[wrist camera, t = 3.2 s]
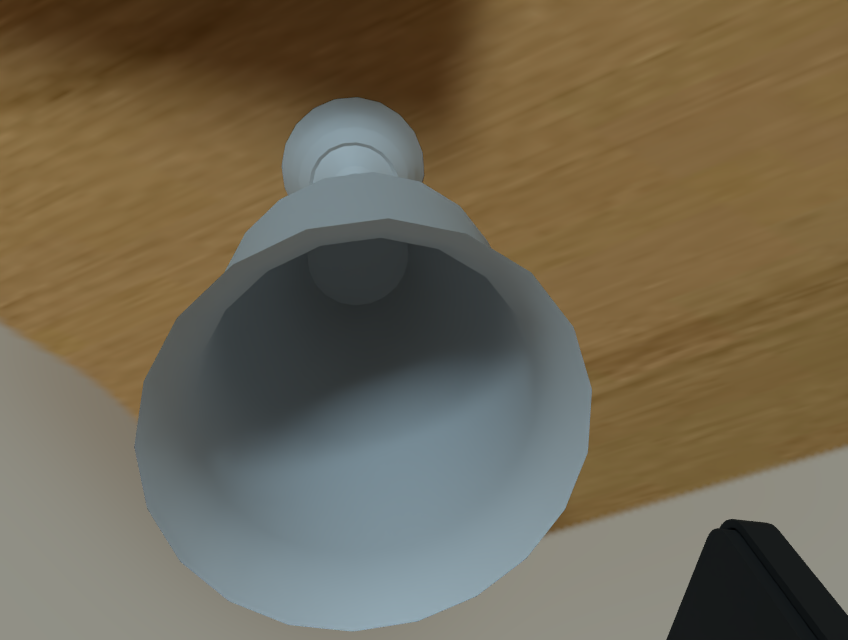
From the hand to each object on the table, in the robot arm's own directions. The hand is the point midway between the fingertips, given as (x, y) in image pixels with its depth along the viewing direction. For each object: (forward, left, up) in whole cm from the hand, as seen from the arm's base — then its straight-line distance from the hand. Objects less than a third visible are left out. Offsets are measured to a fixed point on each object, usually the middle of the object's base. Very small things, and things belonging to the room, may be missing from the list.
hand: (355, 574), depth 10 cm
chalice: (0, 0, -20) cm, 20 cm away
